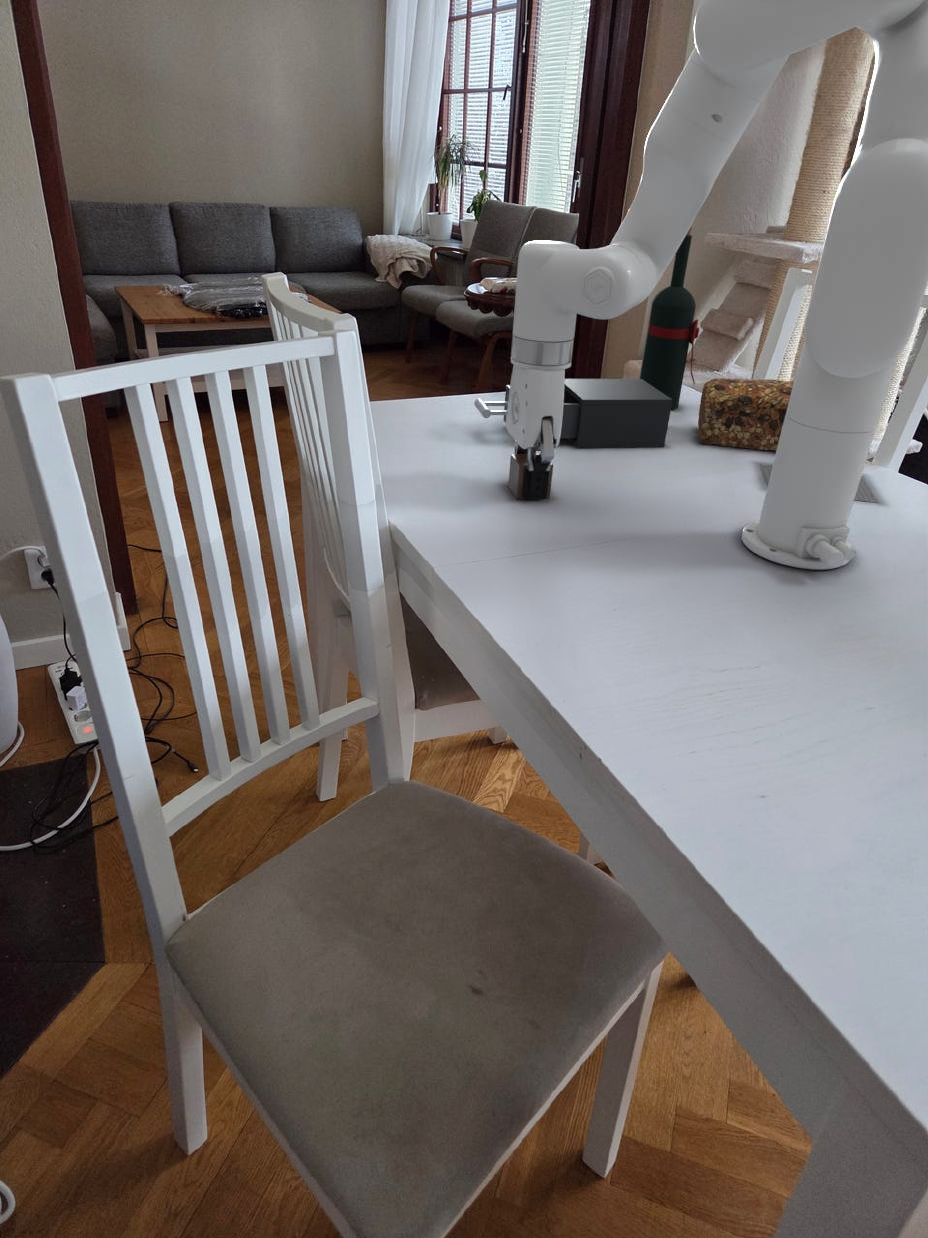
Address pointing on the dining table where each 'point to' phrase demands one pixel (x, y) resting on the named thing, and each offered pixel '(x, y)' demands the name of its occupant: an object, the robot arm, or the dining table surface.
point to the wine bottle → (670, 331)
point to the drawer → (568, 421)
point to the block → (522, 474)
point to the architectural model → (862, 492)
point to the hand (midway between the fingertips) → (529, 489)
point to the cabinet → (619, 413)
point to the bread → (743, 412)
